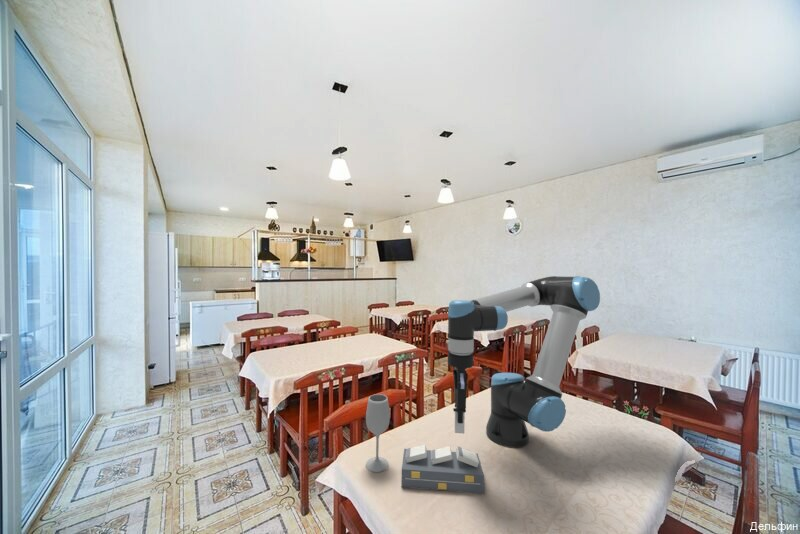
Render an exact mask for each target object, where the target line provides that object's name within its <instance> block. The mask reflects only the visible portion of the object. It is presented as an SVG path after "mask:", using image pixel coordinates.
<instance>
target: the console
mask: <svg viewBox="0 0 800 534" xmlns="http://www.w3.org/2000/svg"><path fill="white" fill-rule="evenodd" d="M407 449H408V448H403V454H402V455H403V457H402V465H401V483H400V484H401V488H409V489H424V490H436V491H449V492H460V493H472V494H474V493H475V494H485V474H484V470H483V466H482V463H481V460H480V456H479V453H475V452H474V453H475V454H476V455H477V458H478V462H479V464H478V467H474V466H472V465H469V464H467V463H464V462H462V461H459V460H457V455H456V451H451V452H452V460H448V461H445V462H441V463H437V464H432V461H431V450H429V449H427V458H423V459H420V460H416V461H412V462H408V463H407V461H406V451H407Z"/></svg>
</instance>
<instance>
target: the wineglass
mask: <svg viewBox="0 0 800 534" xmlns="http://www.w3.org/2000/svg"><path fill="white" fill-rule="evenodd" d="M389 404H390V403H389V400H388V396H387V395H385V394H381V393H376V394H372V395H370V396H369V397H368V400H367V406H366V413H365V424H366V427H367V429H368V430H369V431H370V432H371V433H372V434H373V435H374V436H375V440H376V442H375V443H376V445H375V457H371V458H369V459H368V460H367V461H366V462H365V468H366V470H368V471H369V472H372V473H381V472H384V471H386V470H387V469H388V467H389V461H388V460H387V458H384V457H381V456H379V449H380V448H379V442H380V441H379V440H380V439H379V438H380V436H381V435H382V434H383V433H384V432H385V431H387V429H388V428H389V425H390V421H391V419H390V417H391V414H390V405H389Z"/></svg>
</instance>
